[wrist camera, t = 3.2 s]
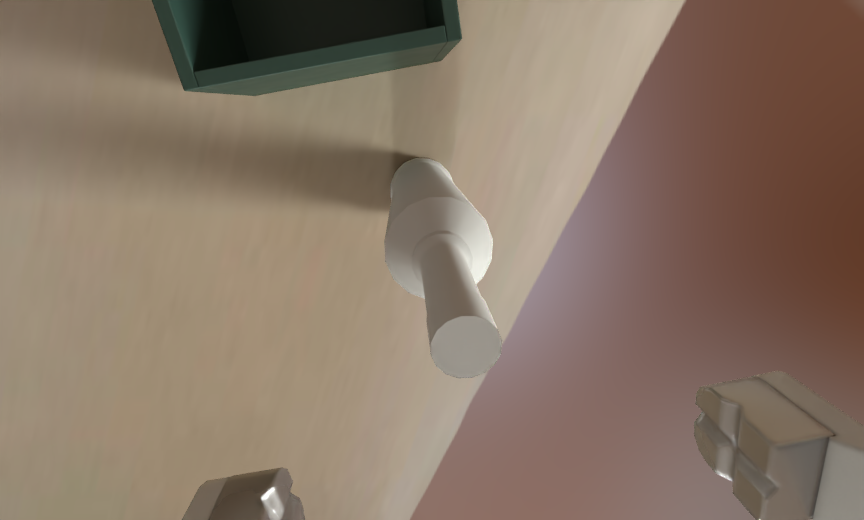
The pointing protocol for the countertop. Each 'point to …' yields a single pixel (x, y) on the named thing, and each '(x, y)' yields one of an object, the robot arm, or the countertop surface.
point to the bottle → (443, 265)
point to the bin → (300, 40)
